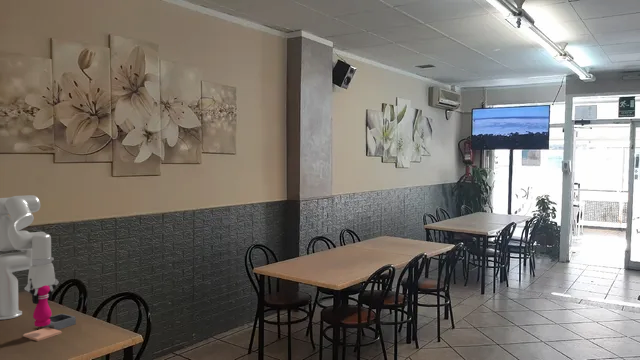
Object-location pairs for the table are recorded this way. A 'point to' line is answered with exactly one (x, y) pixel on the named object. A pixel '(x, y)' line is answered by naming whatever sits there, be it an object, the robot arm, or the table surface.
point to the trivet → (42, 334)
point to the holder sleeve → (61, 321)
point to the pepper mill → (42, 308)
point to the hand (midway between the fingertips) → (42, 301)
